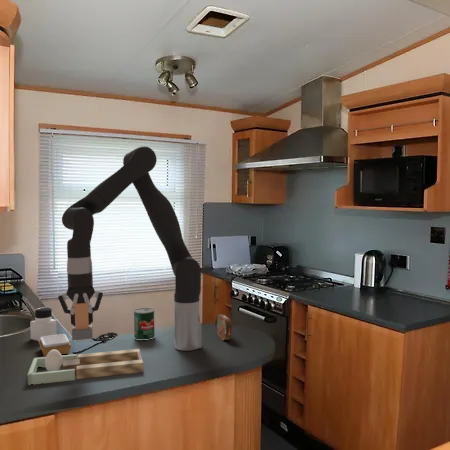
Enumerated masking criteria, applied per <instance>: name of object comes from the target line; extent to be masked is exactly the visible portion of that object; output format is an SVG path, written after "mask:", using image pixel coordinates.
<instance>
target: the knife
mask: <svg viewBox="0 0 450 450" xmlns="http://www.w3.org/2000/svg"><path fill="white" fill-rule="evenodd" d="M117 336H118V333H116V332H111V331H110V332H107V333H103V334H100V335H99V336H97V337H96V338H94V337H93V338H92V339H91V341H92V340H94V341H97V339H98V341H105V342H107V338H108V339H109V338H112V337H114V338H115V337H117ZM99 338H100V339H99ZM112 339H113V338H112Z"/></svg>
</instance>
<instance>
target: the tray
mask: <svg viewBox="0 0 450 450" xmlns="http://www.w3.org/2000/svg"><path fill="white" fill-rule="evenodd" d="M45 358H46V357H44V356H41V357H33V360H32V362H31V365H30V368H29V369H28V372H27V378H26V379H27V386H31V384H33V385H40V384H42V383H43V384H50V383H59V382H68V381H75V380H76V373H75V369H69V370H63V369H61V370H59V371H41V372H36V371H38V369H39V368H38V367H42V368H46V367H45ZM62 359H63V361H64V360H74V359H78V353H76V354H68V355H62ZM62 365H63V364H62ZM37 368H38V369H37Z"/></svg>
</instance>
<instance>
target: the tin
mask: <svg viewBox="0 0 450 450" xmlns="http://www.w3.org/2000/svg"><path fill="white" fill-rule="evenodd" d="M214 324H215V326H214V327H215V332H216V335H217V337H219V339H221V340H222V341H230V340H231V338H232V331H233V330H232V329H233V324H232V320H231V319H230V318H229V317H228V316H226V315H225V314H221V313H220V314H219V313H218V314H216V317H215V323H214Z"/></svg>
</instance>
